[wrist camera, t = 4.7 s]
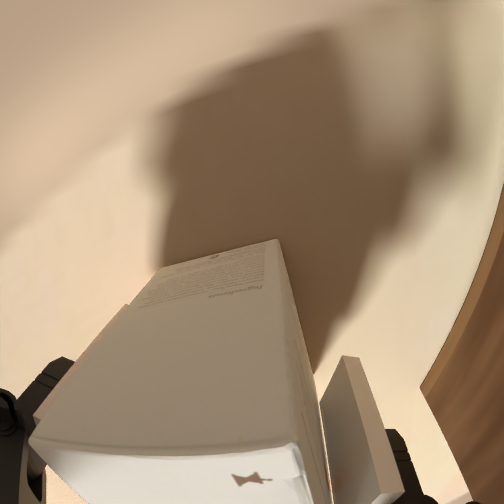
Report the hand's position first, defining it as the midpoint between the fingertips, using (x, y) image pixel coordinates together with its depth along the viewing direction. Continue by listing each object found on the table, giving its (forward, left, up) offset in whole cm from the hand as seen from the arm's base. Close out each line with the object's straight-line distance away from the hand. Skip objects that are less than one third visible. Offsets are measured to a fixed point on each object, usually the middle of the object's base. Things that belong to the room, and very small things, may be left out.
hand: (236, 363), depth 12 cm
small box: (0, 0, -3) cm, 3 cm away
